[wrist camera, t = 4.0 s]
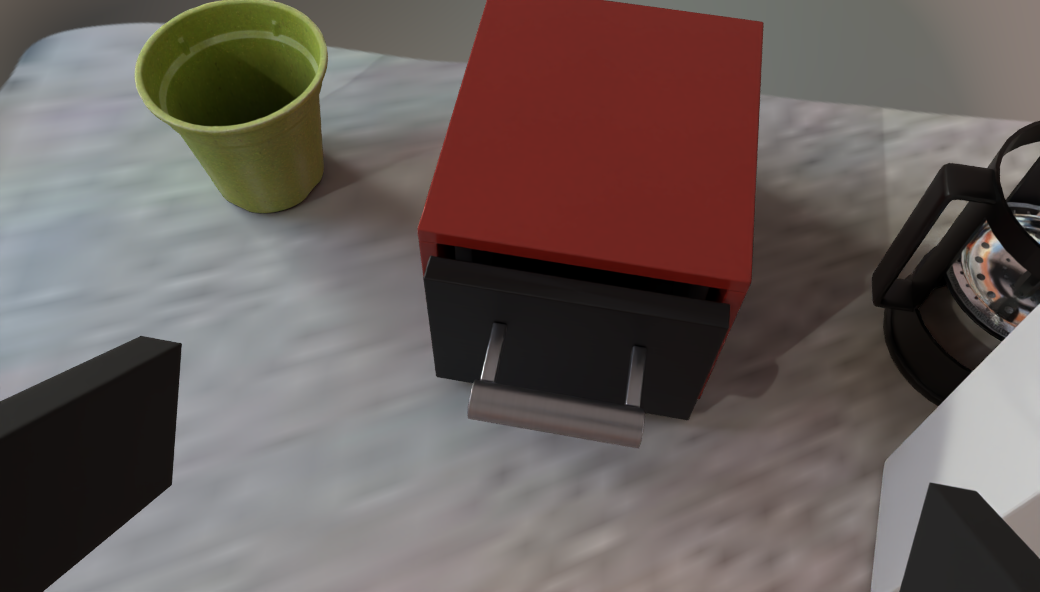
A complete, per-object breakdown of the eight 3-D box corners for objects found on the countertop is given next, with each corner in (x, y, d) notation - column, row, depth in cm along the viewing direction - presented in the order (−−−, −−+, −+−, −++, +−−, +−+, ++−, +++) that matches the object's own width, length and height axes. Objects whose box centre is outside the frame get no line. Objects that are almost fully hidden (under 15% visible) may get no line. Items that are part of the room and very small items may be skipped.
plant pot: (198, 257, 48) (144, 149, 40) (177, 134, 52) (125, 17, 45) (368, 216, 49) (345, 105, 42) (332, 100, 54) (306, -18, 47)
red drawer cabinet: (699, 399, 44) (751, 283, 35) (432, 354, 45) (416, 229, 36) (718, 164, 52) (763, 21, 43) (492, 130, 53) (491, -16, 44)
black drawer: (681, 509, 40) (723, 430, 32) (414, 460, 41) (395, 373, 33) (707, 189, 50) (744, 73, 42) (493, 156, 51) (492, 37, 43)
